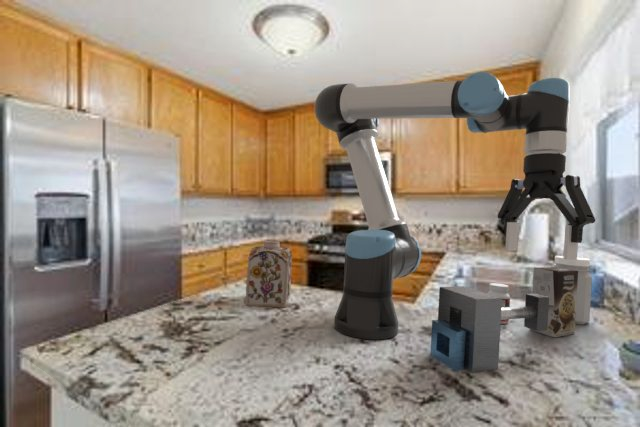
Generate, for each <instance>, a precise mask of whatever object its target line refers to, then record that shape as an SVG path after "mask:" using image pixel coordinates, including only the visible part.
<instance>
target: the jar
mask: <svg viewBox="0 0 640 427" xmlns="http://www.w3.org/2000/svg"><path fill="white" fill-rule="evenodd" d="M563 256H564V255H555V256H554V263H555V264H554V267H555V268H564V269H571V270H577V271H578V284H577V300H576V319H575V325H586V324H587V323H589V322H590V317H591V316H590V315H591V302H592V301H591V298H592V282H593V276H592V275H591V274H590V269H589V268H588V267H590V266H591V265H590V261H591V260H590V258H585V257H578V256H577V260H567V259H563Z"/></svg>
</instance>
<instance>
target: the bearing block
mask: <svg viewBox="0 0 640 427" xmlns="http://www.w3.org/2000/svg"><path fill="white" fill-rule="evenodd" d="M487 293H488V292H483V291H480V290H477V289H474V288H470V287H467V286H462V285H460V286H459V285H458V286H456V285H455V286H440V287H439V292H438V294H439V295H438V310H437V312H438V313H437V320H442V321H445V322H447V323H449V324H451V325H453V326H455V327H457V328H459V329H462V330H464V331H466V334H465V353H464V369H465V370H467V371H468V372H470V373H481V372H489V371H495V370H499V359H500V341H501V340H500V339H501V325H502V324H501V308H502V298H500V297H497V296H493V295H490V294H487ZM449 344H450V338H449V337H447V336H445V350H447V351H449Z"/></svg>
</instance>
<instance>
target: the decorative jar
mask: <svg viewBox="0 0 640 427" xmlns="http://www.w3.org/2000/svg"><path fill="white" fill-rule="evenodd" d="M280 244H281V243H280V241H278V240H265V241H263V245H262V246H254V247H252V248H251V250H250V252H249V254H248V257H247V259H248V260H247V273H246V286H245V305H246V306H251V307H252V306H253V307H264V308H265V307H268V308H269V307H270V308H286V307H287V305H288V303H289V300H290V297H291V287H292V286H291V281H292V262H293V261H292V260H293V255H292V249H290V248H288V247H285V246H281V245H280Z"/></svg>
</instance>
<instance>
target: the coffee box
mask: <svg viewBox="0 0 640 427" xmlns="http://www.w3.org/2000/svg"><path fill="white" fill-rule="evenodd" d="M577 284H578V271H577V270H571V269H564V268H555V267H553V266H550V267H548V266H546V267H543V266H542V267H533V275H532V289H531V290H532V291H531V294H539V295H543V296H547V297H549V310H548V328H547V330H545V331H535V330H532V329H530V328H529V330H530V331H534V332H536V333H539V334H543V335H545V336H547V337H551V338H559V337H563V336H569V335H574V334H575V332H576V324H575V319H576V300H577Z"/></svg>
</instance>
